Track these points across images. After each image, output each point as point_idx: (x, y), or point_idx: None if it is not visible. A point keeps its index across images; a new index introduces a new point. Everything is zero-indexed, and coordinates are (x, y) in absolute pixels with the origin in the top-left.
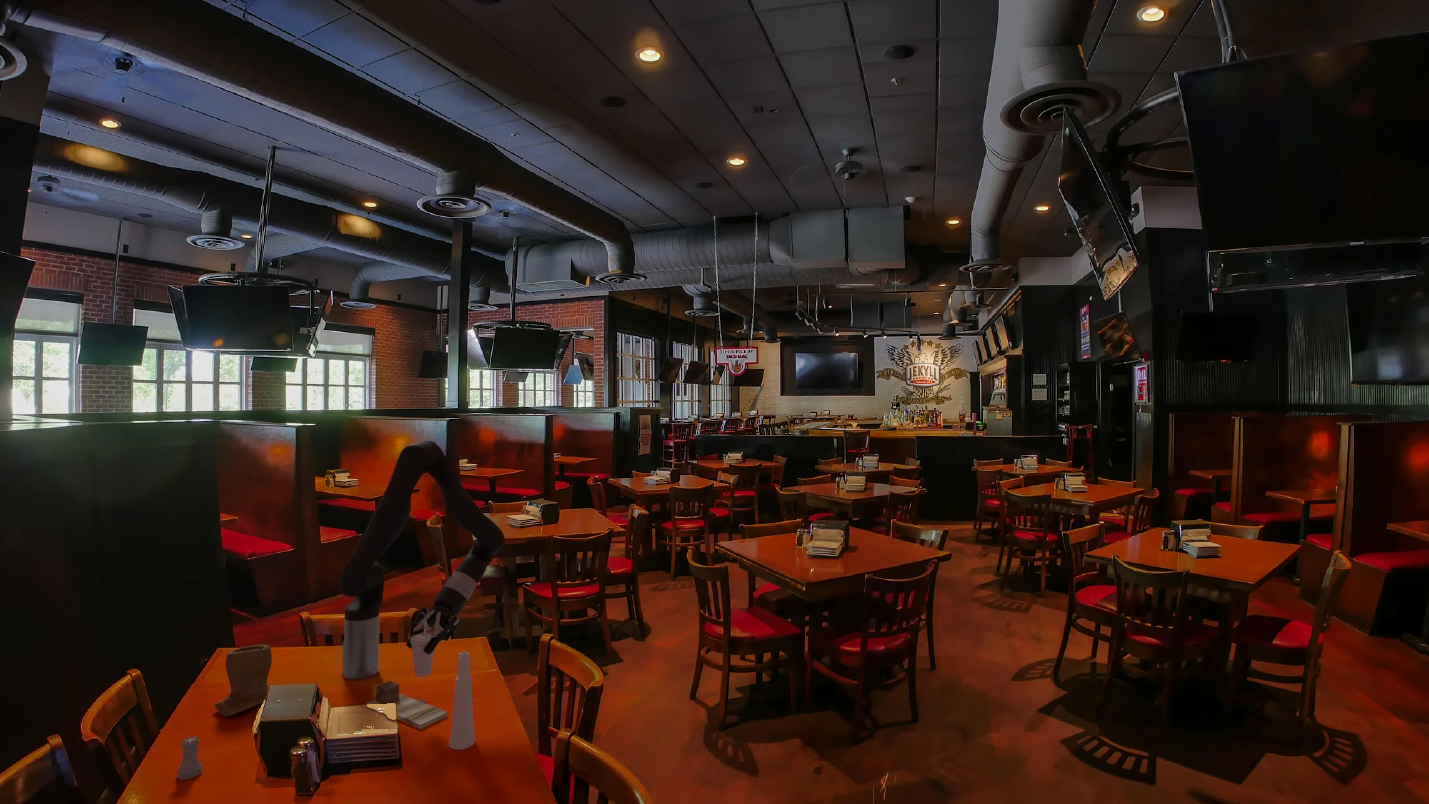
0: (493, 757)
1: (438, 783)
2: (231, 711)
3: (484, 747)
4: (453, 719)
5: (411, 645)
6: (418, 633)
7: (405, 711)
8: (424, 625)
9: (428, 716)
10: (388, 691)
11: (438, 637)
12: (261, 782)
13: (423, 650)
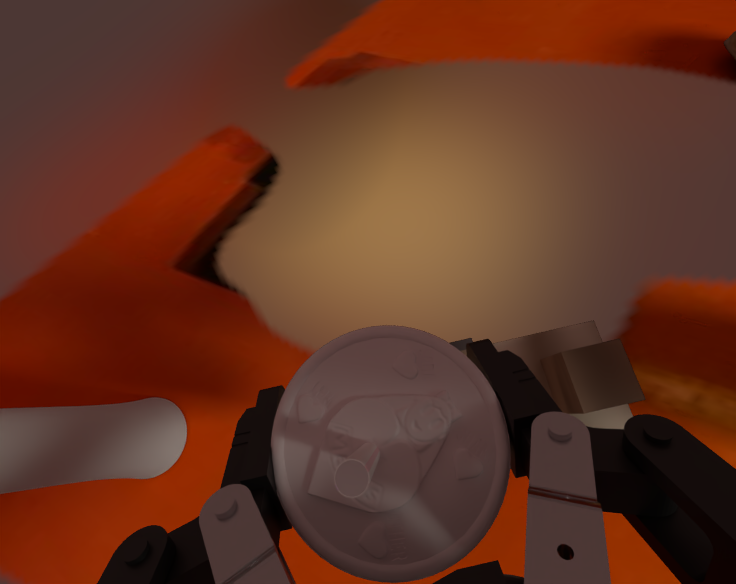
0: None
1: (47, 299)
2: (732, 34)
3: None
4: (99, 405)
5: None
6: (524, 454)
7: None
8: (358, 451)
9: None
10: (561, 366)
11: (194, 520)
12: (350, 59)
13: (281, 386)
